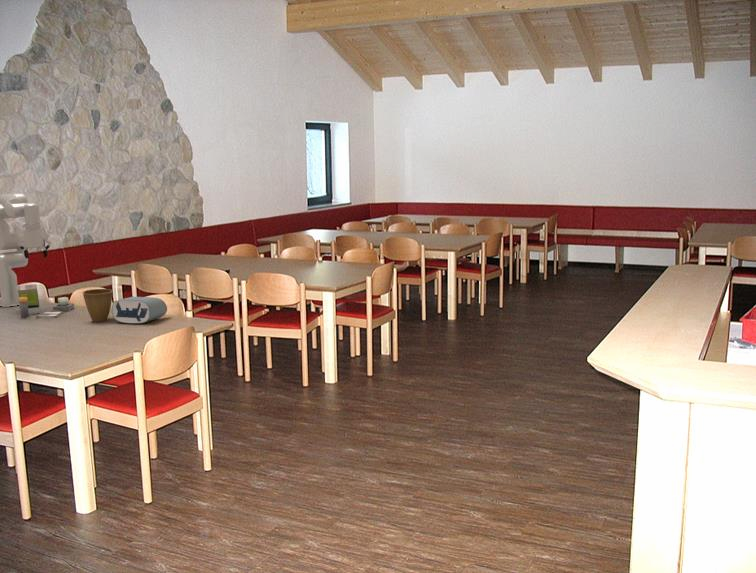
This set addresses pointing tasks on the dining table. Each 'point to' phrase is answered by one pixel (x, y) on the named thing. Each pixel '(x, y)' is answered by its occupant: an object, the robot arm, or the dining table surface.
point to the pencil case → (138, 309)
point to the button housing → (64, 307)
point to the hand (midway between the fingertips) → (36, 257)
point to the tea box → (30, 297)
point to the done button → (62, 301)
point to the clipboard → (51, 313)
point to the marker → (23, 307)
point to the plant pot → (98, 303)
